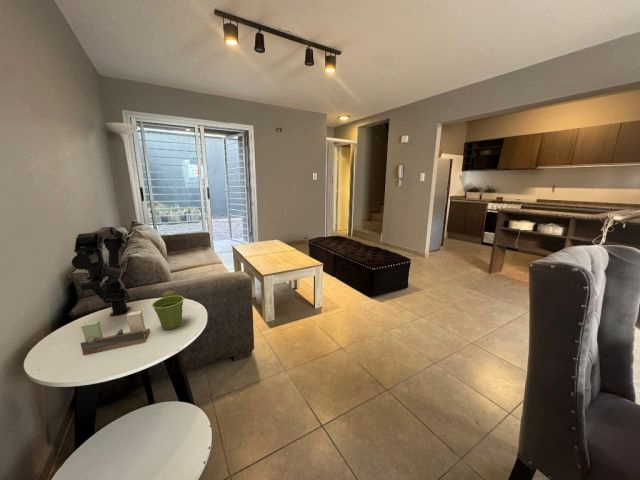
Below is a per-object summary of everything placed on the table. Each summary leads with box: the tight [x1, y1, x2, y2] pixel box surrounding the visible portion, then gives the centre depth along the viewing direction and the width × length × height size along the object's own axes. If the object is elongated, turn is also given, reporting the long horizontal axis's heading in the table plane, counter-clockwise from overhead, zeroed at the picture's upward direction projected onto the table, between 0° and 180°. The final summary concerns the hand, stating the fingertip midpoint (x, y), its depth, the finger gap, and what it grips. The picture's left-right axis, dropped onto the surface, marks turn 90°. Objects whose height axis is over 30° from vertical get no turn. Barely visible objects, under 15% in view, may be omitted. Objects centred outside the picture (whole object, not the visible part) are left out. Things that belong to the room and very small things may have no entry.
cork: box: [162, 290, 177, 298], centre depth 118 cm, size 6×6×11 cm
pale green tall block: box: [80, 320, 104, 342], centre depth 93 cm, size 3×4×9 cm, turn 111°
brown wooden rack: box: [80, 327, 151, 356], centre depth 97 cm, size 8×19×6 cm, turn 111°
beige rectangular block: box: [126, 310, 146, 333], centre depth 100 cm, size 3×4×9 cm, turn 111°
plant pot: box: [151, 295, 185, 330], centre depth 108 cm, size 12×12×11 cm
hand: (102, 298), depth 107 cm, fingers closed
